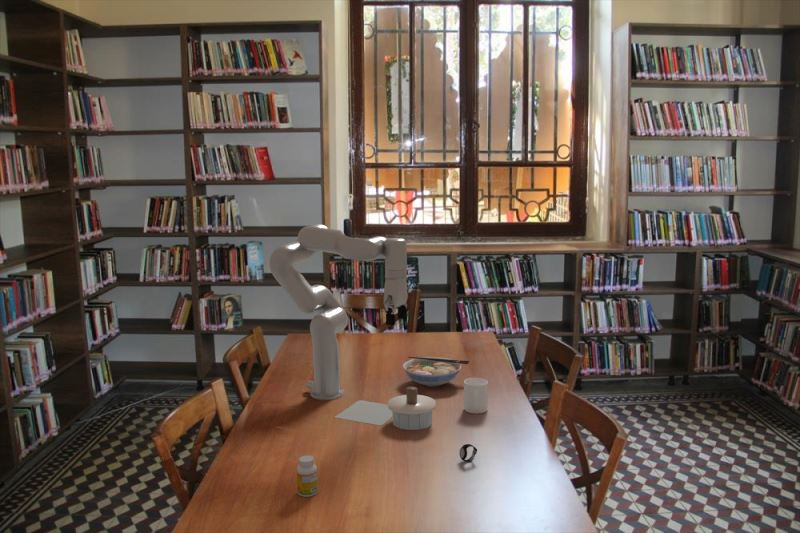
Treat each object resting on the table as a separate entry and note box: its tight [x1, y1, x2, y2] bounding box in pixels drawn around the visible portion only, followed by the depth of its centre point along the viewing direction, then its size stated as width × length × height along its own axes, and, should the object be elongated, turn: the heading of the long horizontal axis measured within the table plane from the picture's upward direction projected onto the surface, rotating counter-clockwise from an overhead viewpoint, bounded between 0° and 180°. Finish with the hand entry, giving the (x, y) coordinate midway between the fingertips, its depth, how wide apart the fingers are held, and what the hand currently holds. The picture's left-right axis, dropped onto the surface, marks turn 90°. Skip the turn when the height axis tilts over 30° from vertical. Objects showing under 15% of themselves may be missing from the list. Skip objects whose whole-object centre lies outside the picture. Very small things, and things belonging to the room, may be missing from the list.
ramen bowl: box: [402, 356, 470, 388], centre depth 273 cm, size 25×23×8 cm
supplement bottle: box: [296, 454, 319, 498], centre depth 188 cm, size 5×5×10 cm
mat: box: [333, 399, 392, 427], centre depth 244 cm, size 18×18×1 cm
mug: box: [463, 377, 489, 415], centre depth 243 cm, size 12×8×10 cm
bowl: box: [391, 410, 433, 431], centre depth 234 cm, size 13×13×6 cm
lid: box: [387, 386, 437, 415], centre depth 234 cm, size 16×16×6 cm
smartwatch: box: [459, 443, 478, 463], centre depth 205 cm, size 4×5×5 cm
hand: (396, 321), depth 247 cm, fingers open, 9 cm apart
